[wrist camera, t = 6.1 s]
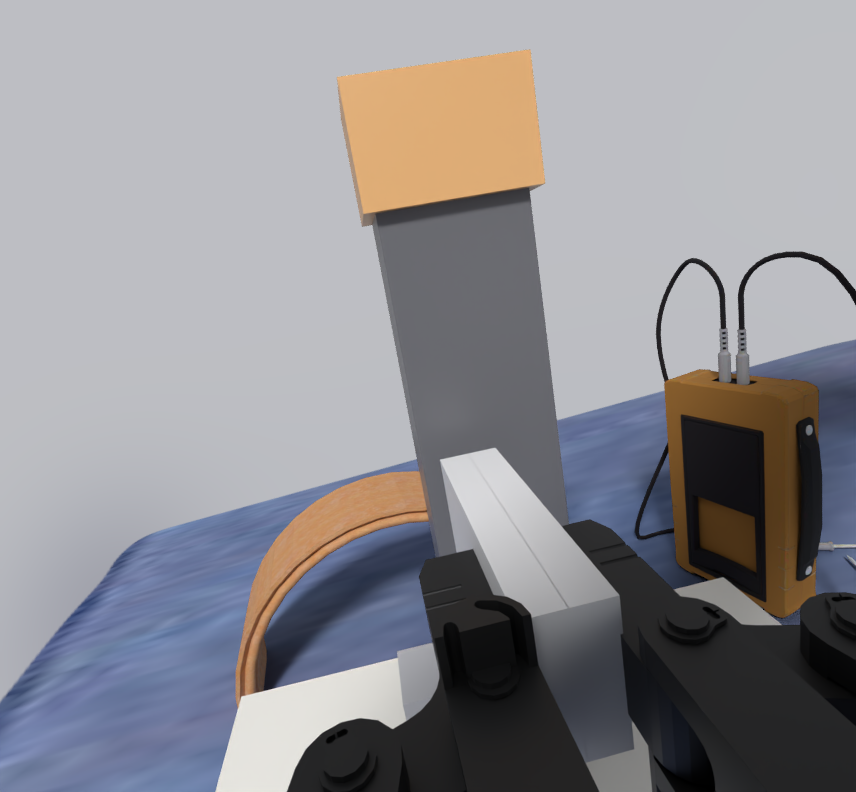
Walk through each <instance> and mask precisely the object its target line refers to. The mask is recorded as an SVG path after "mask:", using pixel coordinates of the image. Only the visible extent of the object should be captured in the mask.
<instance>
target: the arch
mask: <svg viewBox="0 0 856 792" xmlns="http://www.w3.org/2000/svg"><path fill="white" fill-rule="evenodd" d="M428 521H429V519H428V514H427V509H426V503H425V498H424V493H423V488H422V482H421V477H420V472H418V471H413V472H392V473H387V474H382V475H377V476H372V477H367V478H364V479H361V480H359V481H356V482H353V483H351V484H348V485H345V486H343V487H340V488H338V489H336V490H335V491H333V492H331V493H330V494H328V495H326V496H324V497H323V498H321V499H319V500H317V501H316V502H314V503H313V504H312V505H311V506H309V507H308V508H307V509H306V510H304V511H303V512H302V513H301V514H299V515H298V516H297V517H296V518H294V520H293V521H292V522H291V523H290V524H289V525H288V526H287V527H286V528H285V530H284V531H283V532H282V533H281V534H280V535H279V536H278V537H277V538H276V540H275V541H274V543H273V545H272V546H271V548H270V549H269V551H268V552H267V554H266V556H265V557H264V559H263V560H262V562H261V565H260V567H259V570H258V572H257V575H256V577H255V579H254V582H253V584H252V589H251V593H250V598H249V603H248V608H247V613H246V619H245V624H244V630H243V635H242V641H241V646H240V651H239V657H238V662H237V668H236V702H237V706H238V708H239V704H240V700H241V697H242V696H246V695H250V694H254V693H258V692H262V691H263V690H264V681H265V671H266V662H267V655H266V653H267V650H266V645H265V641H264V635H265V632H266V630H267V627H268V625H269V623H270V620H271V618H272V616H273V615H274V613H275V612H276V610H277V608H278V607H279V605H280V604H281V602H282V601H283V599H284V597H285V596H286V594H287V593H288V592H289V591H290V590H291V589H292V588H293V587H294V585H295V584H296V583H297V582H298V581H299V580H300V579H301V578H302V577H303V575H304V574H305V573H306V572H308V571H309V570H310V569H311V568H312V567H314V566H315V565H316V564H317V563H319V562H320V561H321V560H322V559H324V558H325V557H326V556H327V555H329V554H330V553H332V552H334V551H335V550H337V549H339V548H341V547H342V546H344V545H346V544H347V543H349V542H351V541H352V540H355V539H357V538H360V537H362V536H365V535H367V534H370V533H372V532H375V531H377V530H380V529H384V528H388V527H392V526H397V525H401V524H405V523H414V522H428Z"/></svg>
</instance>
